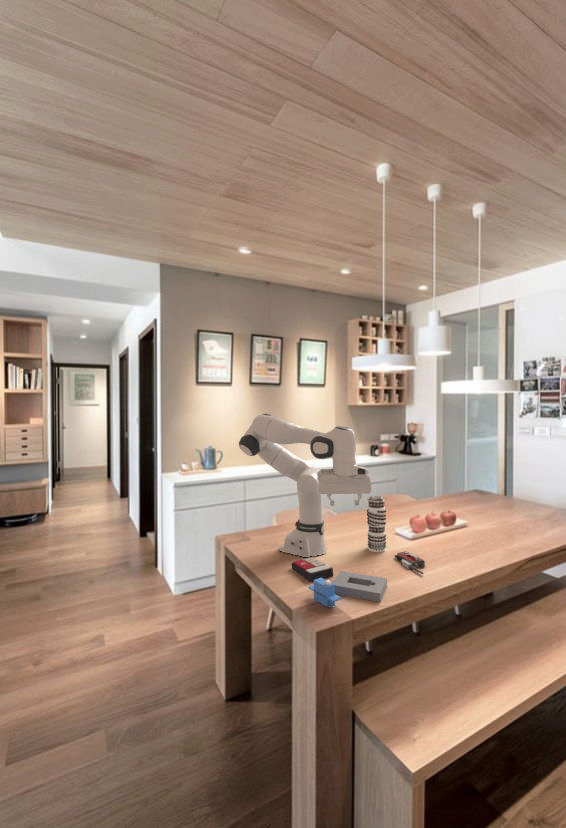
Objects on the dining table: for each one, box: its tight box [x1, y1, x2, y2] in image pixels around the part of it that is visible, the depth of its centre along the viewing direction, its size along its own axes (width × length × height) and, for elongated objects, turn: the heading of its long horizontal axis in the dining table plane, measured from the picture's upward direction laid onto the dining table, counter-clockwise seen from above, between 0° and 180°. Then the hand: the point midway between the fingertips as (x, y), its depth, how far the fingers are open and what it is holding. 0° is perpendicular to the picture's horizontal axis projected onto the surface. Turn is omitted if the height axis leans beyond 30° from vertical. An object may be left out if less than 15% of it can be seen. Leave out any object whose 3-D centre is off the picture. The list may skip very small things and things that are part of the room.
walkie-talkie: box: [394, 550, 426, 575], centre depth 166 cm, size 9×4×20 cm
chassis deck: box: [331, 570, 388, 603], centre depth 145 cm, size 18×13×3 cm
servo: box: [308, 578, 342, 608], centre depth 136 cm, size 13×4×8 cm, turn 35°
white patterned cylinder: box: [366, 495, 387, 553], centre depth 186 cm, size 9×9×25 cm
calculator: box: [291, 556, 334, 583], centre depth 161 cm, size 11×4×15 cm
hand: (344, 505), depth 149 cm, fingers open, 8 cm apart
